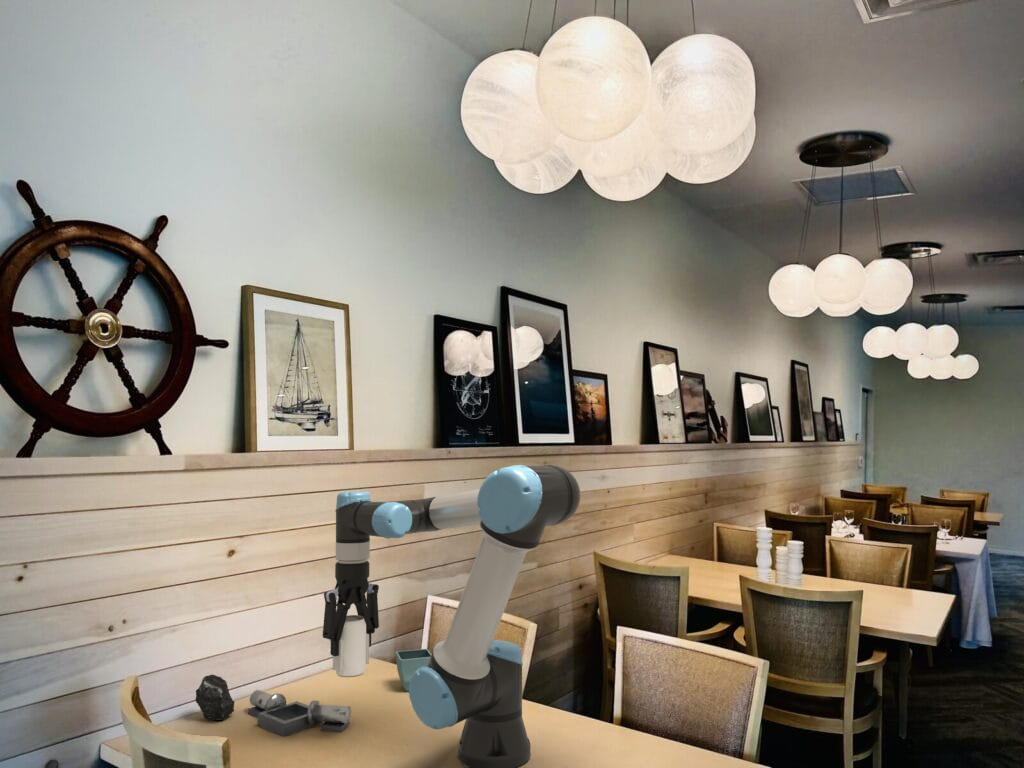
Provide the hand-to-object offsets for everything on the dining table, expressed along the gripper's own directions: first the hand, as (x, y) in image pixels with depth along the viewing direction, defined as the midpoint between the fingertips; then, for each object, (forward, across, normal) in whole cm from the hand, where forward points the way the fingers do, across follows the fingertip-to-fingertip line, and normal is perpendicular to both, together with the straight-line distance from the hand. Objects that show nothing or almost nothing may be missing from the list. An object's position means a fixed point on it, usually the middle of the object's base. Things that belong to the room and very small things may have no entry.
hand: (351, 666), depth 163 cm
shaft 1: (+16, +3, -29) cm, 33 cm away
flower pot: (+16, -33, -15) cm, 40 cm away
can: (+2, 0, 0) cm, 2 cm away
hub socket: (+16, +3, -18) cm, 24 cm away
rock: (+16, +12, -35) cm, 40 cm away
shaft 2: (+16, -2, -9) cm, 18 cm away
